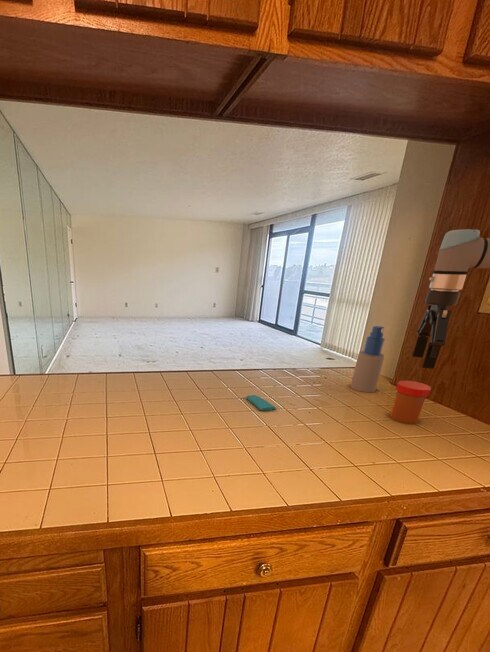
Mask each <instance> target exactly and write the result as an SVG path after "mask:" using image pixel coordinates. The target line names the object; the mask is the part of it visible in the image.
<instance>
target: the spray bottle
mask: <svg viewBox="0 0 490 652" xmlns="http://www.w3.org/2000/svg"><path fill="white" fill-rule="evenodd" d="M384 330H385V326H381V325H375V326H372V328H371V332H370V333H369V336H367V337H366V340H365V344H364V348H363V350H360V351H359V352H358V354H357V358H356V362H355V367H354V371H353V375H352V378H351V383H350V388H351V389H353V390H355V391H358V392H362V393H374V392H376V390H377V386H378V382H379V378H380V375H381V371H382V367H383V364H384V360H385V354H384V353H382V351H383V348H384V343H385V338H384Z"/></svg>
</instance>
